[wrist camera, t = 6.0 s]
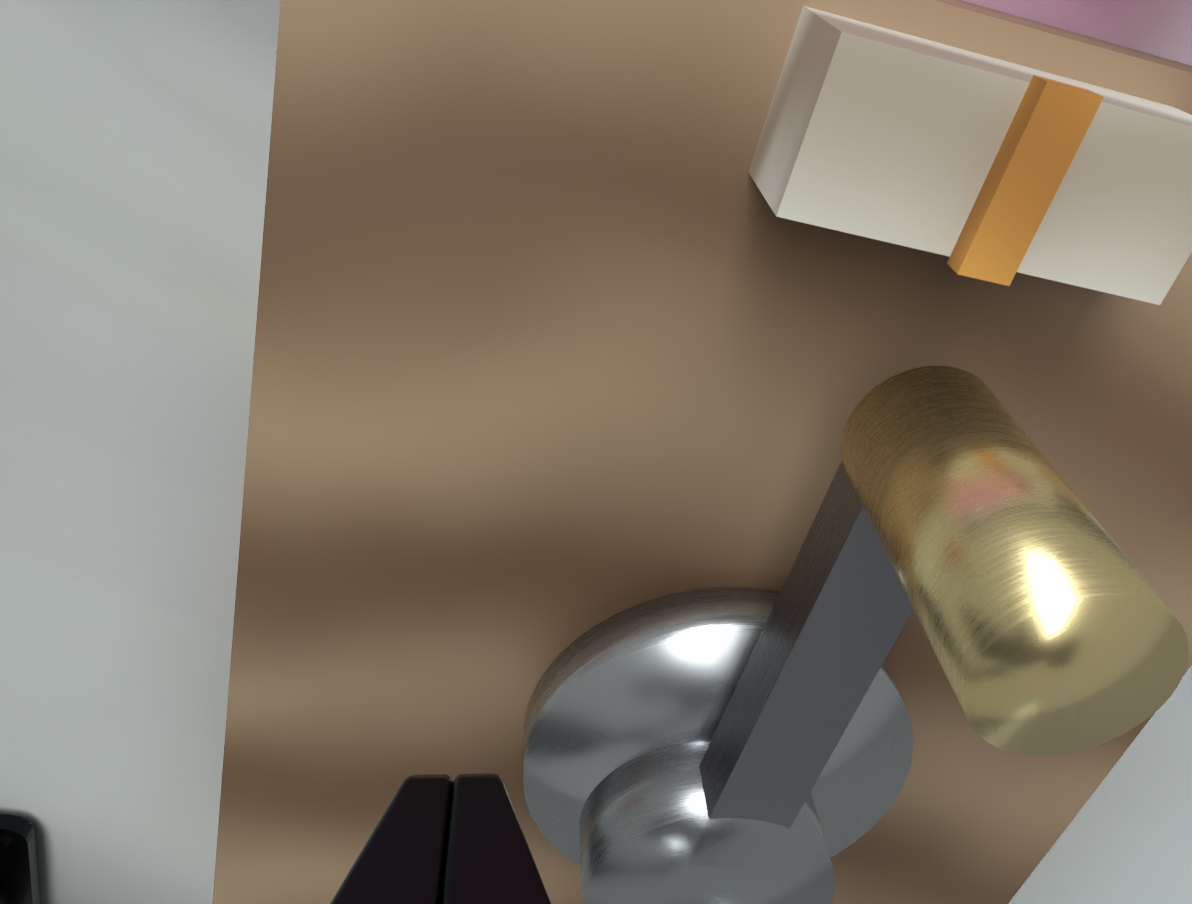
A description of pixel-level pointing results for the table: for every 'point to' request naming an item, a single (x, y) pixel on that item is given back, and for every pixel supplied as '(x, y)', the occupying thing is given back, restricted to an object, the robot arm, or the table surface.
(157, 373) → the table surface
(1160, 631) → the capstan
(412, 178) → the stand
